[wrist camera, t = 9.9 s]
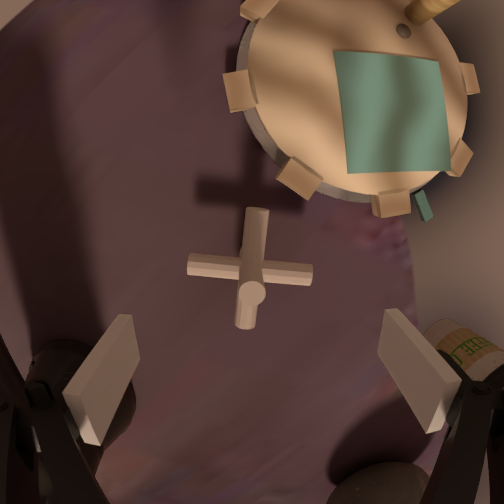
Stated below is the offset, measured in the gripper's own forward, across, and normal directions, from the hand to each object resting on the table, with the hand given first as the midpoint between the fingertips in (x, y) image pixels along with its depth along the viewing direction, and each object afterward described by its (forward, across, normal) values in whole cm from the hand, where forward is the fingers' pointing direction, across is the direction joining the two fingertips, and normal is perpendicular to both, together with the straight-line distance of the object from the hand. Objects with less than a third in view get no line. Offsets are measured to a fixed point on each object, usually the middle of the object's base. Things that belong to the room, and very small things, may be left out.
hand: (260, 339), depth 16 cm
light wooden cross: (+16, 0, 0) cm, 16 cm away
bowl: (+16, +20, -40) cm, 48 cm away
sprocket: (+15, +11, +17) cm, 25 cm away
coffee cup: (+16, +24, -12) cm, 31 cm away
